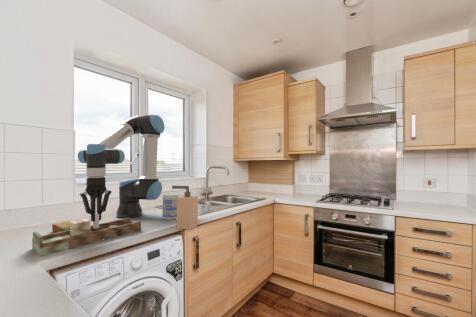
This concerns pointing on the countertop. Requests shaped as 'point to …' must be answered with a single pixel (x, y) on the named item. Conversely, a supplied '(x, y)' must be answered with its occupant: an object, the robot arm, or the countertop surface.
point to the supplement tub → (170, 206)
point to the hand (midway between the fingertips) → (96, 227)
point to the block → (80, 227)
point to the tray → (81, 236)
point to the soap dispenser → (186, 209)
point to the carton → (61, 227)
